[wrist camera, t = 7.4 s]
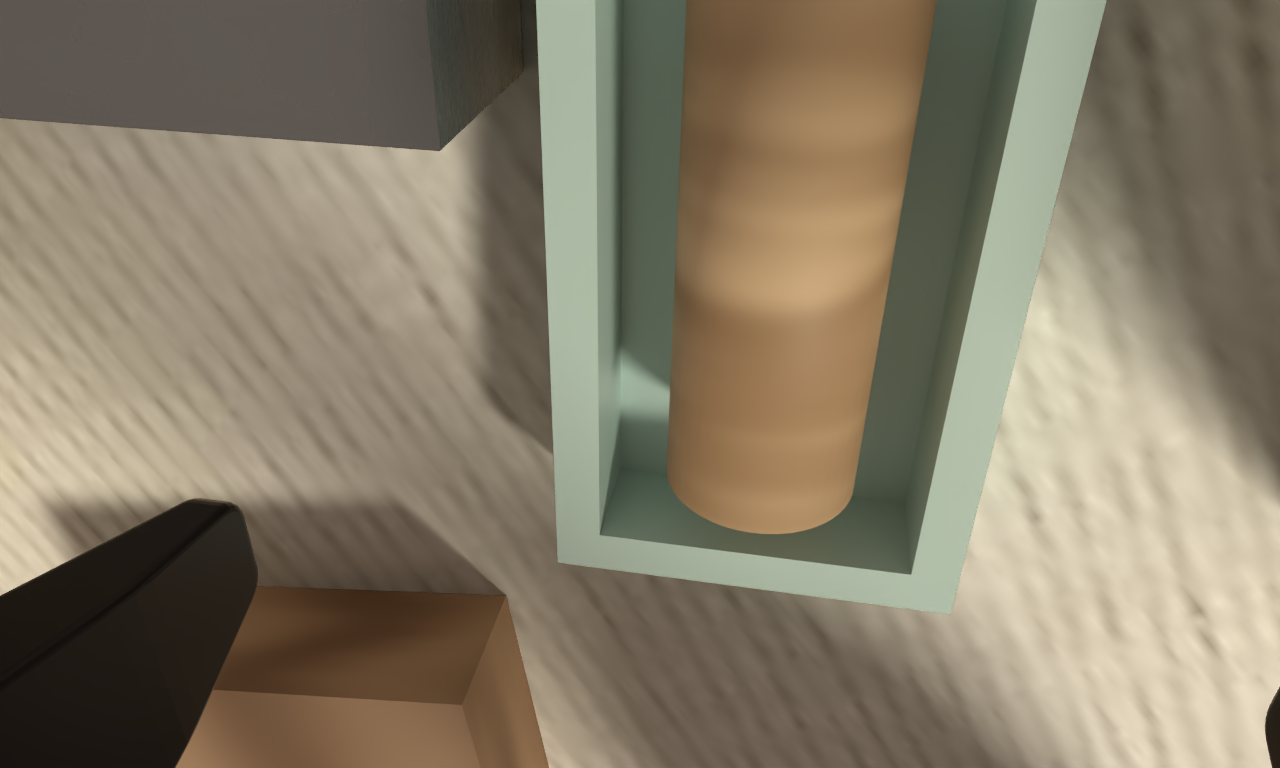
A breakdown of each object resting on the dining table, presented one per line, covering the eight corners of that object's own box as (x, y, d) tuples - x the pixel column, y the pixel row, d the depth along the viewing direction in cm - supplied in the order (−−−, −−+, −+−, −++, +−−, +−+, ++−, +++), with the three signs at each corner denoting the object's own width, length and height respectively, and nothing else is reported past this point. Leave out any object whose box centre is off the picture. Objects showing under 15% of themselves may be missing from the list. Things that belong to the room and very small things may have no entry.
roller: (855, 432, 18) (851, 547, 15) (683, 410, 19) (650, 517, 16) (933, -38, 14) (947, 9, 11) (706, -49, 14) (667, -8, 12)
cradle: (1111, -230, 13) (1165, -229, 11) (938, 523, 19) (950, 614, 17) (575, -239, 14) (527, -240, 12) (586, 481, 20) (558, 562, 18)
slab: (510, 585, 23) (461, 705, 20) (557, 780, 26) (522, 906, 24) (169, 573, 25) (79, 681, 22) (256, 757, 28) (189, 871, 25)
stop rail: (516, -62, 15) (424, -13, 12) (523, 72, 16) (439, 150, 13) (-65, -88, 16) (-297, -50, 13) (-23, 37, 17) (-228, 100, 14)
